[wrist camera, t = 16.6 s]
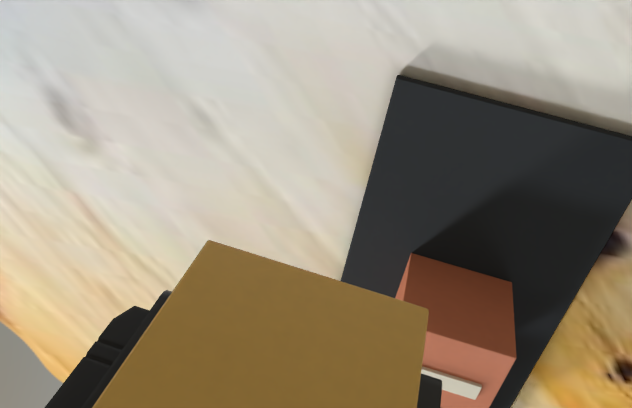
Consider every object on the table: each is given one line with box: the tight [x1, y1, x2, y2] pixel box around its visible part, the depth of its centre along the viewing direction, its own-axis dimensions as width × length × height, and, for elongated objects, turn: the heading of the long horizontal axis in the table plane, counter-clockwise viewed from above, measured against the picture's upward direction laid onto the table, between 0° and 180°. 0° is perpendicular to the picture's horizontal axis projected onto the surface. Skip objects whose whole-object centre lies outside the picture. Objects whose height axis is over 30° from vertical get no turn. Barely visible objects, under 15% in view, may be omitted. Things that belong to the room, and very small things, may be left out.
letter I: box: [395, 253, 516, 408], centre depth 26 cm, size 5×5×5 cm
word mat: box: [341, 75, 632, 408], centre depth 28 cm, size 20×10×1 cm, turn 170°
